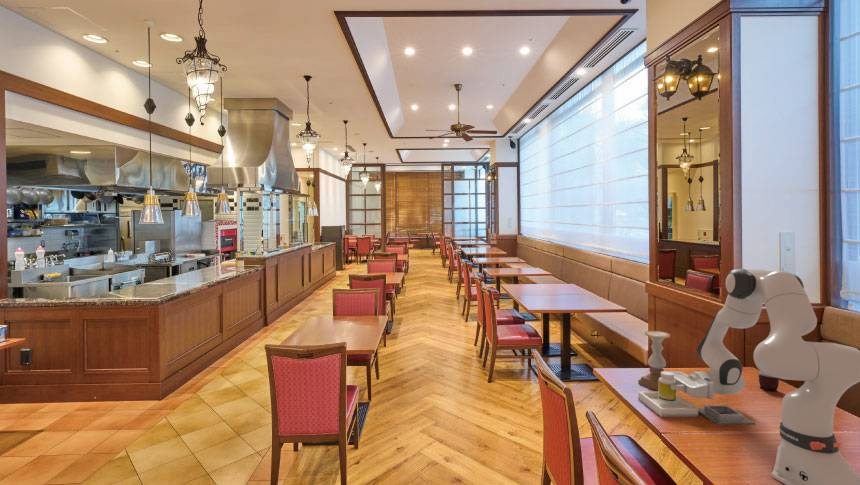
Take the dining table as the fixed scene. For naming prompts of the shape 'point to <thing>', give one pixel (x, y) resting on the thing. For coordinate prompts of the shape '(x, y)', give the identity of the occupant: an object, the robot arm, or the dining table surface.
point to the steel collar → (724, 415)
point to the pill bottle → (666, 387)
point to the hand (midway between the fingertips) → (664, 383)
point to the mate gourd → (768, 382)
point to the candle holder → (655, 360)
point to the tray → (668, 405)
